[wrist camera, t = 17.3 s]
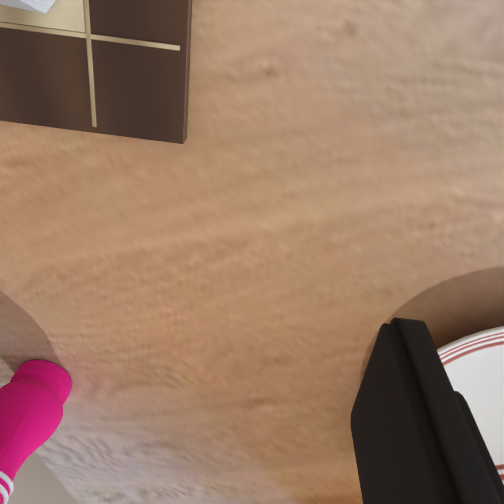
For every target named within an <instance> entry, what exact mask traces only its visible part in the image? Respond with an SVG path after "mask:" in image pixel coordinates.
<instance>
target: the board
mask: <svg viewBox="0 0 504 504" xmlns="http://www.w3.org/2000/svg"><path fill="white" fill-rule="evenodd" d="M191 18H192V0H56V1H55V2H54V3H53V5H52V6H51V8H50V9H49V10H48V12H47V13H46V14H44V13H39V12H34V11H29V10H24V9H20V8H15V7H10V6H5V5H2V4H0V121H8V122H15V123H23V124H31V125H39V126H47V127H54V128H62V129H70V130H78V131H86V132H93V133H101V134H109V135H117V136H125V137H132V138H140V139H148V140H156V141H164V142H171V143H179V144H184V142H185V140H186V138H187V117H188V93H189V68H190V43H191Z"/></svg>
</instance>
